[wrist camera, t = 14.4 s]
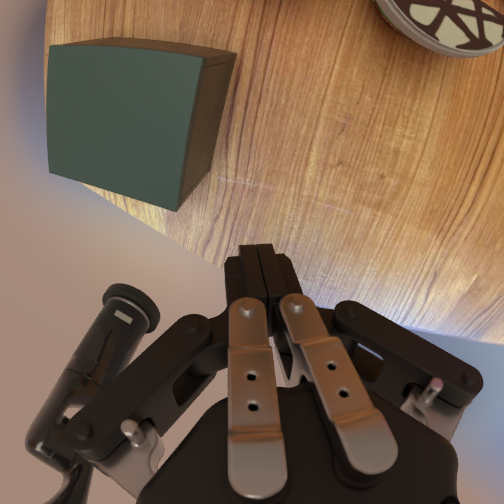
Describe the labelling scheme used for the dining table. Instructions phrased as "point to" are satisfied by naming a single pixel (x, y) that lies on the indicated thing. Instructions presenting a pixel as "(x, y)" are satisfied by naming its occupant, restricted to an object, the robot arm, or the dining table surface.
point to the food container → (446, 25)
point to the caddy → (207, 103)
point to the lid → (122, 118)
